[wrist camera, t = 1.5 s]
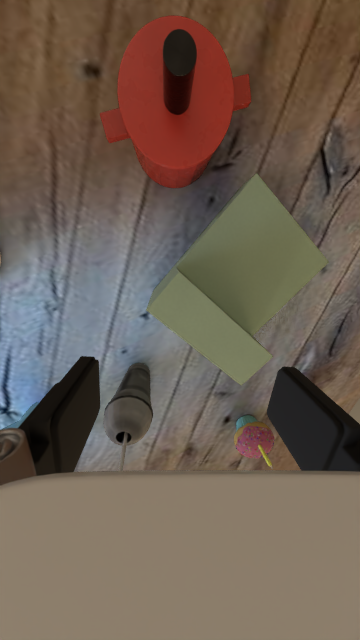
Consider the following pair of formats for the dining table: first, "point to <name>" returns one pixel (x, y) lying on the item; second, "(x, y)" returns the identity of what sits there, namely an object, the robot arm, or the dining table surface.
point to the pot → (162, 174)
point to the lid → (175, 92)
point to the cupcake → (253, 438)
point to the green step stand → (237, 280)
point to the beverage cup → (129, 409)
